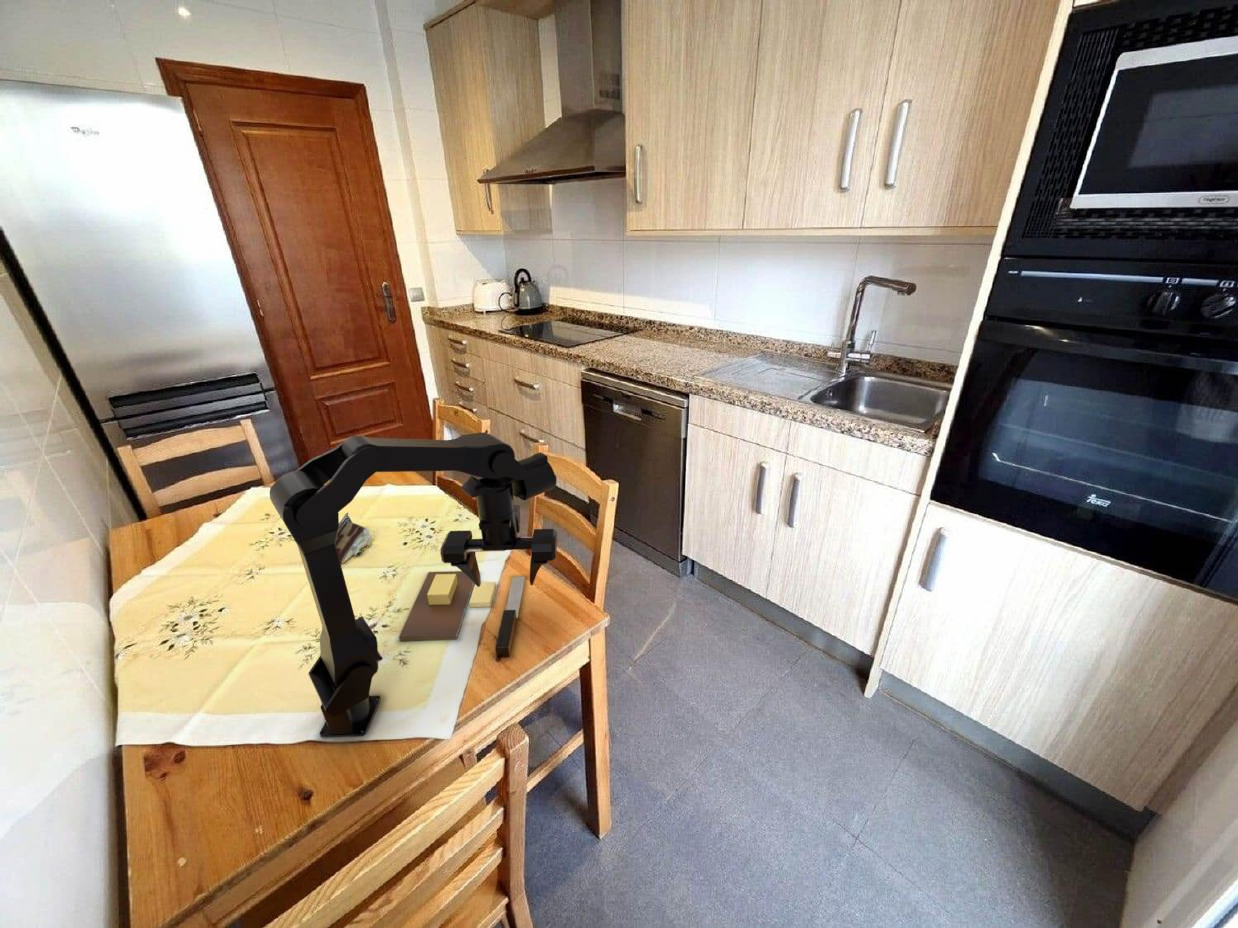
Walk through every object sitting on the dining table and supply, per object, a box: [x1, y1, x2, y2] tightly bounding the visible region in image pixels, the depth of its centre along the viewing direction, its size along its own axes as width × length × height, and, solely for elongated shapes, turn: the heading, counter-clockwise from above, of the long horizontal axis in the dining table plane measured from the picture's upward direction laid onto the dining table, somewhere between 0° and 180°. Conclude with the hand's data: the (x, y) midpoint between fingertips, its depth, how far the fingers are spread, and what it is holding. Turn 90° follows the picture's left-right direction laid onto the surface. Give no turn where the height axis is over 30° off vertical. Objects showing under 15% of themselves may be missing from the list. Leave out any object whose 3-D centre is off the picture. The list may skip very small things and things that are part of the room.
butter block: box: [427, 574, 458, 605], centre depth 98 cm, size 6×4×2 cm, turn 3°
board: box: [398, 570, 475, 642], centre depth 97 cm, size 18×10×1 cm, turn 3°
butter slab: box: [468, 581, 497, 608], centre depth 99 cm, size 6×4×1 cm, turn 3°
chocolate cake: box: [336, 512, 372, 565], centre depth 112 cm, size 10×7×12 cm
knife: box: [494, 576, 526, 659], centre depth 95 cm, size 21×2×2 cm, turn 3°
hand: (505, 584), depth 88 cm, fingers open, 9 cm apart
